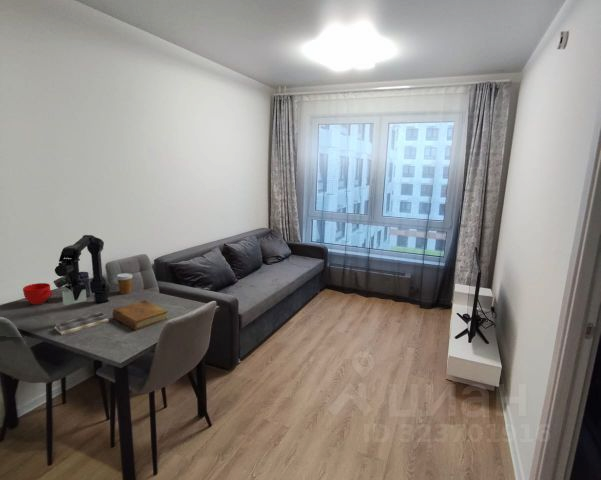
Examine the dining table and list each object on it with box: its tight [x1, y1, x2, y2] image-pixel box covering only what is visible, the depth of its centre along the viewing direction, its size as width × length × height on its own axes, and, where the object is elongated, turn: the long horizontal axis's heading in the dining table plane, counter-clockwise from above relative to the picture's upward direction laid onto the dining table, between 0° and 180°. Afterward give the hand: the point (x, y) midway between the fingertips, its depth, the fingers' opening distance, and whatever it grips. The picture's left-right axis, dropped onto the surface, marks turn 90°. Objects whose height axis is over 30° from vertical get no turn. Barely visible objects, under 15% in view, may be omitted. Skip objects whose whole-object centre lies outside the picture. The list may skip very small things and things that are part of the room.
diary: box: [112, 300, 169, 331], centre depth 195 cm, size 23×19×6 cm
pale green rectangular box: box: [61, 289, 87, 306], centre depth 186 cm, size 10×3×7 cm, turn 140°
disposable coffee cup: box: [116, 272, 134, 295], centre depth 232 cm, size 10×10×12 cm
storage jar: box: [79, 271, 91, 299], centre depth 221 cm, size 10×10×15 cm
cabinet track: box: [54, 311, 109, 336], centre depth 185 cm, size 22×10×3 cm, turn 141°
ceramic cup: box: [22, 282, 53, 305], centre depth 210 cm, size 13×17×10 cm
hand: (74, 299), depth 186 cm, fingers closed on pale green rectangular box, 3 cm apart
